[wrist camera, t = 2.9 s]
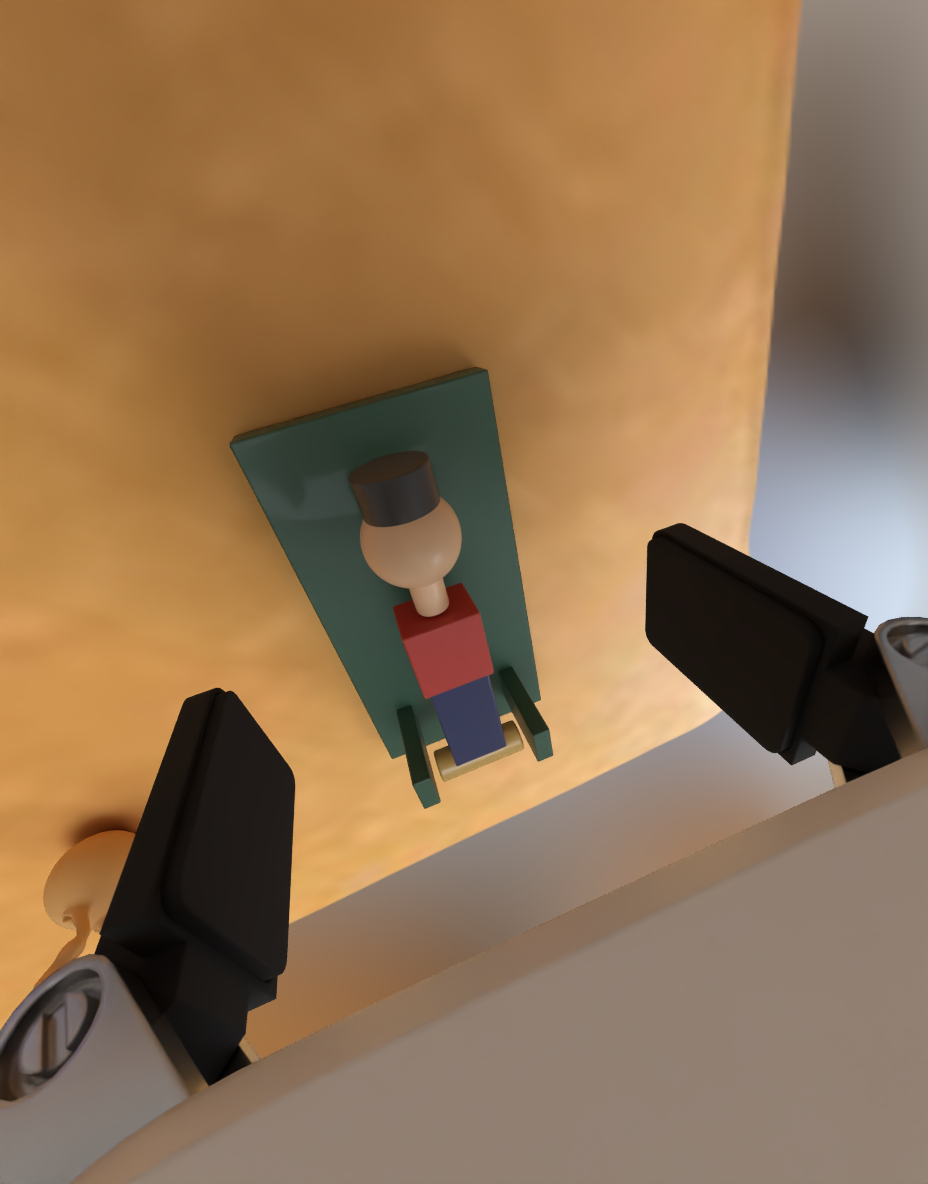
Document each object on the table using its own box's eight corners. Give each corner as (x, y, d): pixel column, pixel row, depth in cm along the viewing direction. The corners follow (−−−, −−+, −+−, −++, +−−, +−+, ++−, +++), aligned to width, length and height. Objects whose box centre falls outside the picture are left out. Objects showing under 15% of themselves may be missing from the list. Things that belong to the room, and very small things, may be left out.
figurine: (0, 824, 20) (-298, 1303, 10) (114, 759, 20) (-74, 1175, 10) (148, 882, 25) (43, 1245, 15) (240, 830, 25) (194, 1158, 15)
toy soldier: (319, 471, 13) (321, 505, 11) (440, 434, 14) (470, 459, 11) (434, 747, 22) (451, 805, 19) (507, 718, 22) (534, 770, 20)
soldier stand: (233, 435, 15) (198, 485, 10) (477, 366, 16) (544, 382, 11) (388, 742, 25) (406, 837, 20) (532, 686, 26) (580, 763, 21)
